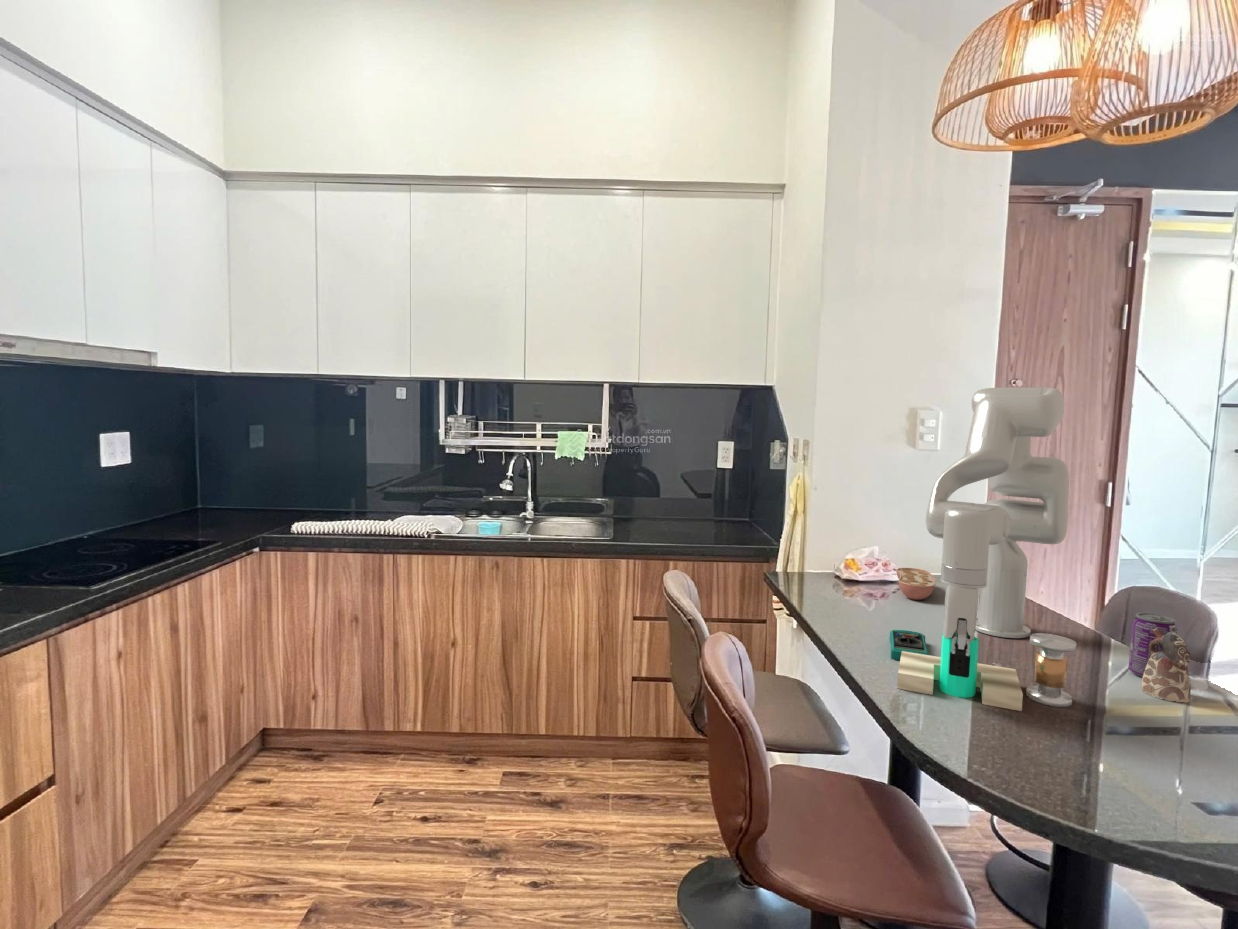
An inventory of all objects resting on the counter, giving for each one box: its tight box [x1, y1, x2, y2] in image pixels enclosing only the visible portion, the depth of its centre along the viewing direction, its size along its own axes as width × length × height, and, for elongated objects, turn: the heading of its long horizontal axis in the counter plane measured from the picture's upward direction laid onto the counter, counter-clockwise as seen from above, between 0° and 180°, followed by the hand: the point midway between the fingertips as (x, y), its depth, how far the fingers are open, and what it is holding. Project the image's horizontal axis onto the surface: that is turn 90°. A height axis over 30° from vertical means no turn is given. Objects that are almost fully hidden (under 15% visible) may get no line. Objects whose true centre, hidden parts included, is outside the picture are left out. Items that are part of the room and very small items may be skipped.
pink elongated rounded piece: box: [896, 567, 936, 601], centre depth 193 cm, size 23×10×5 cm, turn 160°
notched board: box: [896, 651, 1024, 712], centre depth 125 cm, size 13×20×3 cm, turn 64°
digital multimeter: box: [889, 629, 930, 661], centre depth 144 cm, size 7×15×3 cm, turn 159°
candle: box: [938, 632, 980, 699], centre depth 123 cm, size 6×6×12 cm
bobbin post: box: [1025, 632, 1077, 708], centre depth 120 cm, size 7×7×11 cm
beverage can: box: [1127, 612, 1179, 679], centre depth 132 cm, size 7×7×12 cm
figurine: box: [1141, 628, 1192, 703], centre depth 123 cm, size 7×7×12 cm
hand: (958, 666), depth 123 cm, fingers open, 9 cm apart
